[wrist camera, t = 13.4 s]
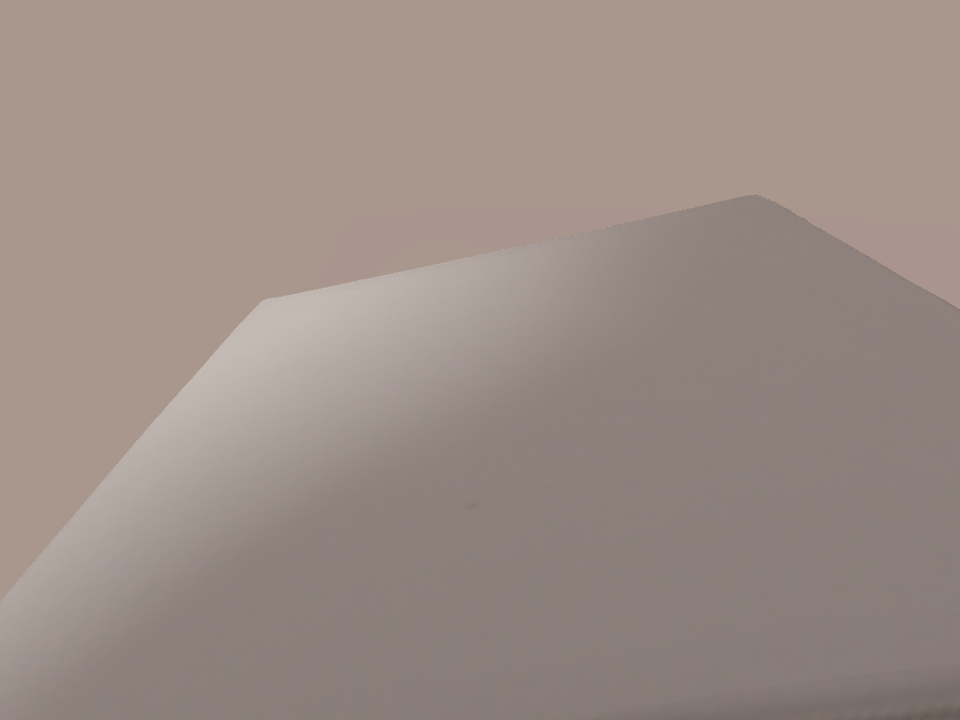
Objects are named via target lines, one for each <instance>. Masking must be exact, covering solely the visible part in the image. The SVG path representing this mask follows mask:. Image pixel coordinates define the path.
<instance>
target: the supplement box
mask: <svg viewBox="0 0 960 720" xmlns="http://www.w3.org/2000/svg"><path fill="white" fill-rule="evenodd" d="M0 720H960V309H958V308H956V307H955V306H953V305H951V304H949V303H948V302H946V301H944V300H943V299H941V298H939V297H937V296H936V295H934V294H932V293H930V292H928V291H927V290H925V289H923V288H921V287H919V286H917V285H915V284H914V283H912V282H910V281H908V280H907V279H905V278H903V277H902V276H900V275H898V274H896V273H895V272H893V271H892V270H890V269H888V268H887V267H885V266H883V265H882V264H880V263H878V262H877V261H875V260H873V259H871V258H870V257H868V256H867V255H865V254H863V253H861V252H859V251H858V250H856V249H854V248H853V247H851V246H849V245H848V244H846V243H844V242H842V241H841V240H839V239H837V238H835V237H834V236H832V235H830V234H828V233H827V232H825V231H823V230H821V229H820V228H818V227H816V226H814V225H812V224H811V223H809V222H808V221H807V220H805V219H804V218H801V217H799V216H797V215H796V214H794V213H793V212H792V211H790V210H788V209H786V208H784V207H782V206H781V205H779V204H777V203H775V202H773V201H770V200H768V199H766V198H763V197H761V196H758V195H751V196H744V197H738V198H734V199H730V200H726V201H721V202H717V203H713V204H709V205H705V206H700V207H696V208H692V209H687V210H682V211H678V212H673V213H669V214H665V215H660V216H655V217H651V218H646V219H642V220H637V221H633V222H629V223H624V224H620V225H615V226H611V227H606V228H602V229H597V230H593V231H588V232H584V233H579V234H575V235H570V236H565V237H561V238H556V239H552V240H547V241H542V242H538V243H533V244H528V245H524V246H519V247H514V248H509V249H505V250H500V251H495V252H490V253H486V254H482V255H476V256H472V257H467V258H462V259H458V260H453V261H449V262H443V263H439V264H434V265H429V266H425V267H421V268H416V269H411V270H406V271H402V272H397V273H392V274H388V275H383V276H378V277H373V278H369V279H365V280H360V281H355V282H350V283H346V284H341V285H336V286H331V287H326V288H322V289H317V290H312V291H307V292H303V293H298V294H293V295H287V296H281V297H276V298H270V299H266V300H264V301H261V302H260V303H259V304H258V305H257V306H256V307H255V308H254V309H253V310H252V311H251V313H250V314H249V315H248V316H247V317H246V318H245V319H244V320H243V321H242V322H241V323H240V324H239V325H238V326H237V328H236V329H235V330H234V331H233V332H232V333H231V334H230V335H229V337H228V338H227V339H226V340H225V341H224V342H223V343H222V344H221V345H220V347H219V348H218V349H217V350H216V351H215V352H214V353H213V355H212V356H211V357H210V358H209V359H208V361H207V362H206V363H205V364H204V365H203V367H202V368H201V369H200V370H199V371H198V372H197V373H196V374H195V375H194V376H193V378H192V379H191V380H190V381H189V382H188V383H187V384H186V385H185V386H184V387H183V389H182V390H181V391H180V392H179V393H178V394H177V395H176V397H175V398H174V399H173V400H172V401H171V402H170V403H169V404H168V405H167V407H166V408H165V409H164V410H163V411H162V412H161V413H160V414H159V416H158V417H157V418H156V419H155V420H154V421H153V422H152V424H151V425H150V426H149V427H148V428H147V429H146V431H145V432H144V433H143V434H142V435H141V436H140V438H139V439H138V440H137V441H136V442H135V443H134V445H133V446H132V447H131V448H130V449H129V450H128V452H127V453H126V454H125V455H124V456H123V458H122V459H121V460H120V461H119V462H118V464H117V465H116V466H115V467H114V468H113V469H112V470H111V472H110V473H109V474H108V475H107V476H106V478H105V479H104V480H103V481H102V482H101V484H100V485H99V486H98V487H97V488H96V489H95V491H94V492H93V493H92V494H91V495H90V496H89V497H88V499H87V500H86V501H85V502H84V503H83V504H82V506H81V507H80V508H79V509H78V510H77V512H76V513H75V514H74V515H73V516H72V517H71V518H70V519H69V521H68V522H67V523H66V524H65V525H64V527H63V528H62V529H61V530H60V531H59V532H58V533H57V535H56V536H55V537H54V538H53V539H52V540H51V542H50V543H49V544H48V545H47V546H46V547H45V549H44V550H43V551H42V552H41V553H40V554H39V556H38V557H37V558H36V559H35V560H34V561H33V563H32V564H31V565H30V566H29V567H28V568H27V570H26V571H25V572H24V573H23V575H21V577H20V578H19V579H18V580H17V581H16V583H15V584H14V585H13V586H12V587H11V588H10V590H9V591H8V592H7V593H6V594H5V596H4V597H3V598H2V599H1V600H0Z"/></svg>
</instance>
